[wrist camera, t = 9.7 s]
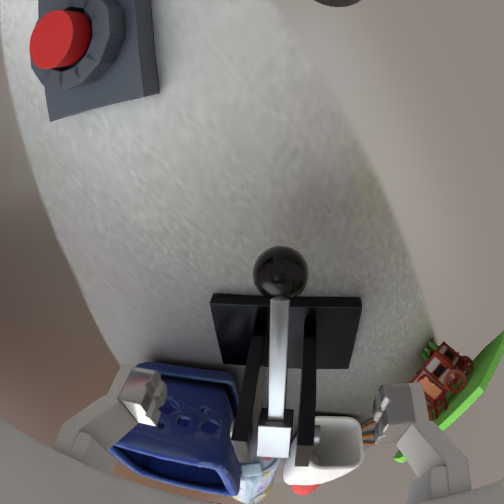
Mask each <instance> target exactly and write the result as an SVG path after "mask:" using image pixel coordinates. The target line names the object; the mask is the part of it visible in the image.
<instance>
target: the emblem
mask: <svg viewBox="0 0 504 504" xmlns="http://www.w3.org/2000/svg"><path fill="white" fill-rule="evenodd" d="M375 424H377V423H376V421H373V422H370V423H368V424H366V425H365V426H363V427H361V428H362V430H364V429H366V428H368V427H369V426H371V425H375ZM372 436H374V433H371V434H365V435H362V438H363V440H364V439H367V438H370V437H372ZM363 444H366V445H379V444H375V443H373V442H364V441H363Z"/></svg>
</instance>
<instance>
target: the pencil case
mask: <svg viewBox="0 0 504 504" xmlns="http://www.w3.org/2000/svg"><path fill="white" fill-rule="evenodd" d="M234 419H235V418H234ZM280 460H281V458H273V457H260V456H257V437H256V443H255V449H254V455H253V461H252V463H244V462H240V489H239V493H238V495H237V496H232V497H233V498H235V499H236V500H238V501H240V502H243V503H246V504H249V503H251V504H252V503H253V502H254V503H258V501H260V500H262V499H263V498H264V497H265V496H266V495H267V493H268V492H269V491H270V489H271V487H272V485H273V482H274V473H275V470H276V468H277V466H278V464H279V462H280Z"/></svg>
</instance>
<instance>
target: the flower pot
mask: <svg viewBox="0 0 504 504" xmlns="http://www.w3.org/2000/svg"><path fill="white" fill-rule="evenodd" d="M135 367H139V368H144V369H150V370H156V371H159V372H160V374H161V380H162V381H164V382H165V384H166V386H167V398H166V401H165V404H164V405H162V406H161V407H160V411H161V415H160V418H159V421H158V423H157V426H151V425H147V424H142V423H138V422H137V423H138V424H137V425H136V426H135V427H134V428H132V429H131V430H130V431H129V432H128V433H127V434H126V435H125V436H124V437H122V438H121V439H120V440H119V441H118V442H117V443H116V444H115V445H113V446H112V447H111V448H110V449H109V450H108V451H109V452H110V453H111V454H113V455H114V456H115V457H116V458H117V459H118V460H119V461H121V462H122V463H123V464H125V465H126V466H127V467H129V468H130V469H131V470H133V471H134V472H136V473H138V474H139V475H142V476H144V477H148V478H151V479H154V480H158V481H161V482H164V483H168V484H172V485H176V486H180V487H184V488H188V489H193V490H197V491H202V492H206V493H212V494H218V495H226V496H237V495H238V493H239V489H240V462H239V461H238V458H237V456H236V453H235V450H234V447H233V445H232V442H231V437H230V427H231V423H232V421H233V420H235V419H234V418H235V417H236V412H237V408H238V403H239V396H238V392H237V388H236V384H235V380H234V378H233V377H232V375H231V374H229V373H228V372H224V371H216V370H207V369H199V368H192V367H185V366H178V365H171V364H164V363H160V362H144V363H140V364H138V365H136V366H135ZM198 466H199V467H201V468H199V467H198Z"/></svg>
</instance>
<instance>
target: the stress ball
mask: <svg viewBox="0 0 504 504" xmlns="http://www.w3.org/2000/svg"><path fill="white" fill-rule="evenodd" d="M318 486H319V484H315V485H291V487H292V489H293V491H294V492H295V493H297V494H299V495H306V494H309V493H311V492H312V491H314V490H315V489H316V488H317V487H318Z"/></svg>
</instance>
